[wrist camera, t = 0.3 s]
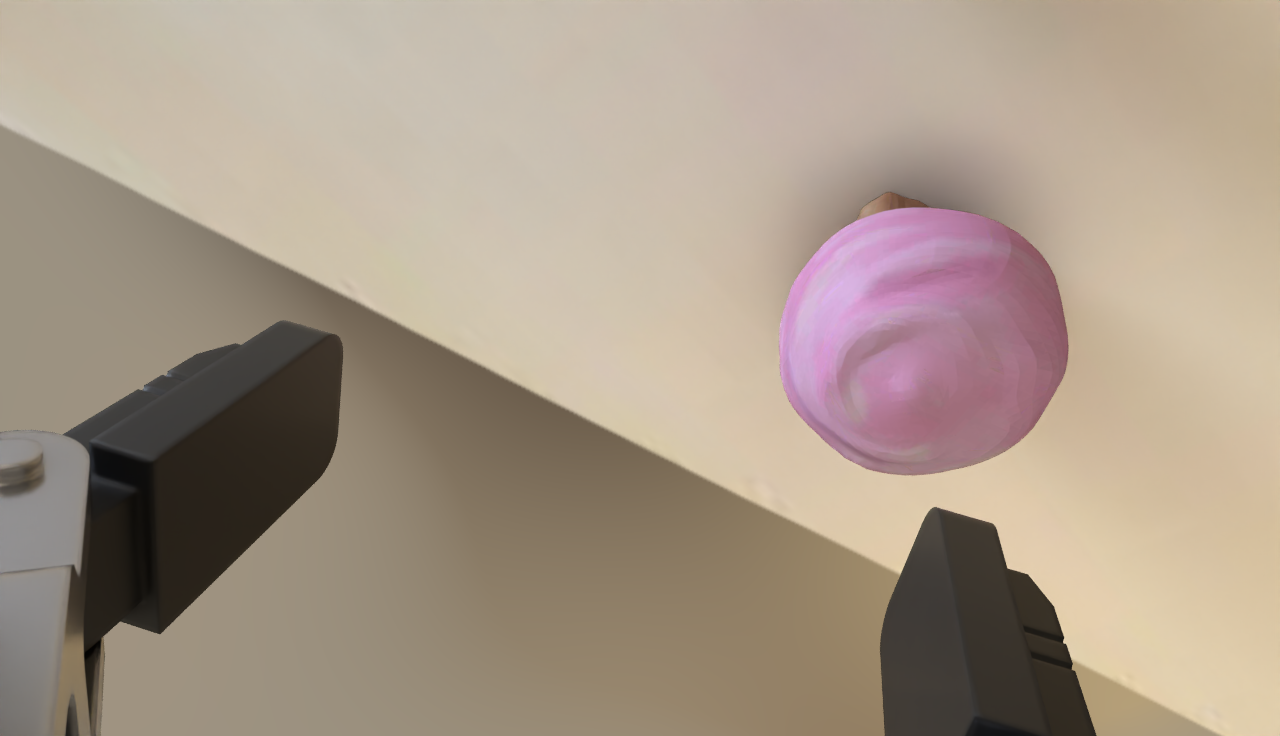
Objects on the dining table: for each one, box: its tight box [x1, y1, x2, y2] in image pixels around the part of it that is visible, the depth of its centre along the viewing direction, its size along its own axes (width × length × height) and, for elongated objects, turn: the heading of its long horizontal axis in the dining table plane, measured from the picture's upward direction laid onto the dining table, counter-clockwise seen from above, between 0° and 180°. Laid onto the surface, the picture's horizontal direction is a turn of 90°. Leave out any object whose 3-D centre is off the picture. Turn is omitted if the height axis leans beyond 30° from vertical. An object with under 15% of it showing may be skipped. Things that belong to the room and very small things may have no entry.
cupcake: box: [779, 192, 1068, 475], centre depth 30 cm, size 9×9×10 cm
